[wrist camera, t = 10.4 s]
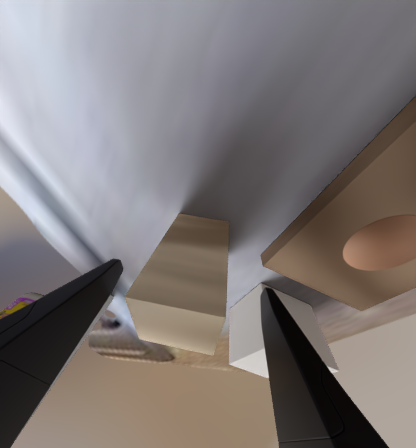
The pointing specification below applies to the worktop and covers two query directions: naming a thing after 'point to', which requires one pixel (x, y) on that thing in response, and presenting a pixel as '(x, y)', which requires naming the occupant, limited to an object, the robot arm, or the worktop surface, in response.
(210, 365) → the worktop surface
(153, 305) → the tan rectangular block
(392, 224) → the board
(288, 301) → the block
